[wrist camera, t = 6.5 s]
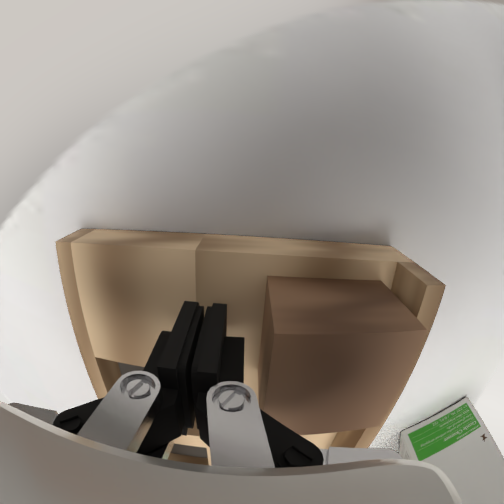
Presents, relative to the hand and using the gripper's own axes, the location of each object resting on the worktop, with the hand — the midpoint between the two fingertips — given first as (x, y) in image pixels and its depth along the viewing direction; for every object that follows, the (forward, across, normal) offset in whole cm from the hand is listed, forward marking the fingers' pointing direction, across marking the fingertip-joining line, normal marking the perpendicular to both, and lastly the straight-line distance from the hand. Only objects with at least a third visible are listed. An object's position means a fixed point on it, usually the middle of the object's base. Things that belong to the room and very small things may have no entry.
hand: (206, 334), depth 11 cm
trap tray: (+4, -1, +9) cm, 10 cm away
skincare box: (+4, -21, +16) cm, 27 cm away
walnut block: (+1, -5, 0) cm, 5 cm away
